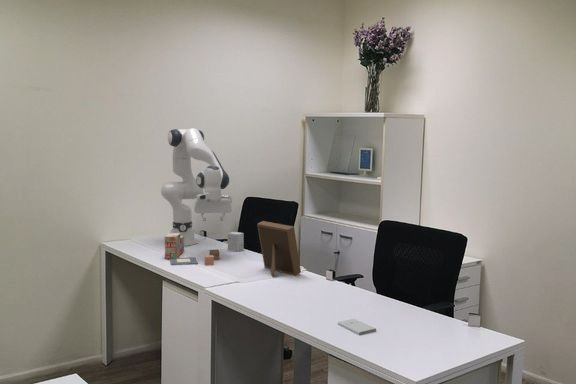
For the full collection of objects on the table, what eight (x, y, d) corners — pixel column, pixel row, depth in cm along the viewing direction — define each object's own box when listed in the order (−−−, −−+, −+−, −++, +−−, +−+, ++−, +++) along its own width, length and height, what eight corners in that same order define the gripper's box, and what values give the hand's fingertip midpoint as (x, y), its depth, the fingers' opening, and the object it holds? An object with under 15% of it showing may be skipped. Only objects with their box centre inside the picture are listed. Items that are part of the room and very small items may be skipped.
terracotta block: (204, 263, 298) (204, 255, 297) (212, 263, 299) (213, 255, 298) (205, 265, 293) (205, 257, 293) (213, 265, 295) (213, 256, 294)
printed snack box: (173, 251, 326) (173, 230, 325) (184, 251, 326) (184, 230, 325) (164, 258, 305) (164, 236, 304) (176, 258, 304) (176, 236, 303)
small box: (243, 250, 332) (244, 233, 331) (238, 252, 327) (238, 234, 326) (233, 248, 336) (233, 231, 335) (227, 250, 331) (227, 232, 330)
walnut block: (209, 258, 310) (209, 249, 309) (218, 258, 311) (218, 249, 310) (210, 260, 305) (210, 251, 304) (219, 260, 306) (219, 251, 305)
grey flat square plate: (169, 259, 306) (169, 257, 306) (195, 258, 309) (195, 256, 309) (170, 265, 292) (170, 263, 292) (197, 264, 296) (197, 262, 296)
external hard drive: (358, 336, 198) (337, 325, 208) (376, 332, 202) (354, 322, 212) (358, 332, 197) (337, 321, 208) (376, 328, 202) (354, 317, 212)
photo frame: (270, 266, 294) (270, 219, 291) (300, 274, 279) (301, 225, 276) (249, 271, 283) (250, 223, 280) (280, 279, 269) (281, 229, 266)
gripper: (231, 195, 309) (231, 219, 311) (194, 195, 305) (194, 220, 306) (232, 196, 303) (232, 221, 304) (194, 196, 298) (194, 221, 300)
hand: (212, 220), depth 305 cm, fingers open, 8 cm apart
